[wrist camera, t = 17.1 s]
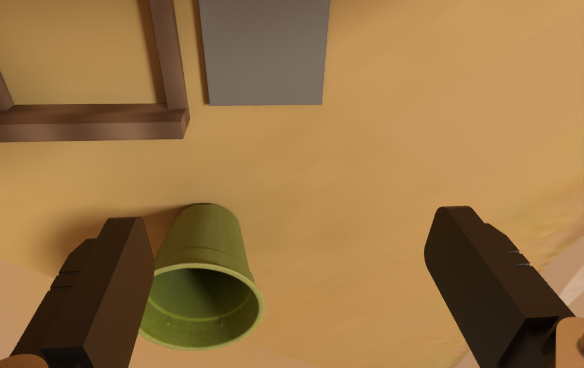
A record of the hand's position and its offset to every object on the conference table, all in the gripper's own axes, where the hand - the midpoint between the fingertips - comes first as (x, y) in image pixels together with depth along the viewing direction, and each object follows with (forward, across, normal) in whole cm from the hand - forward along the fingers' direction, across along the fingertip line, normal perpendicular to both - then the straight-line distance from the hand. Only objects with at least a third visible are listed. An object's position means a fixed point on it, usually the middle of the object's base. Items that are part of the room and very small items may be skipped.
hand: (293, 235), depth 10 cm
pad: (+24, 0, 0) cm, 24 cm away
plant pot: (+24, +7, +20) cm, 32 cm away
